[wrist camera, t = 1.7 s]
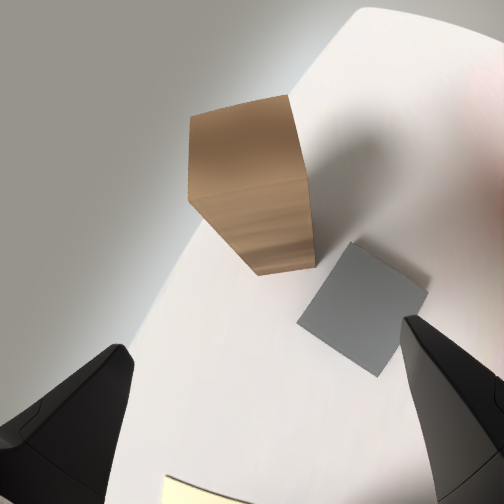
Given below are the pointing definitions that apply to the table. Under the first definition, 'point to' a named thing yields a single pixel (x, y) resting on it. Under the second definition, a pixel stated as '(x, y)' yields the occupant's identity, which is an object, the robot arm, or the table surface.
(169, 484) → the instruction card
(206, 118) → the pillar
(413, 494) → the table surface
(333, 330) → the base plate
